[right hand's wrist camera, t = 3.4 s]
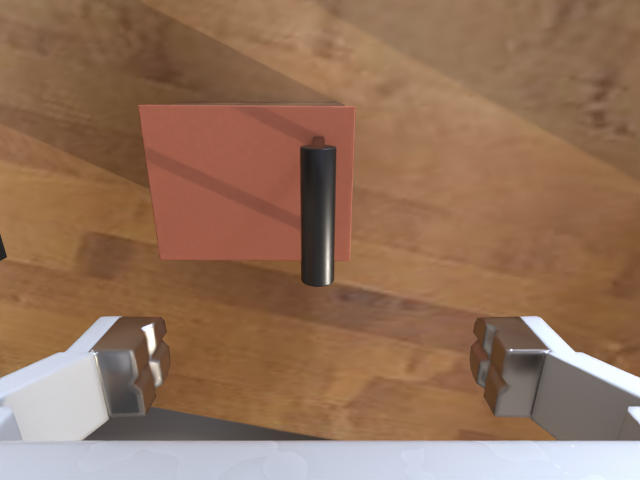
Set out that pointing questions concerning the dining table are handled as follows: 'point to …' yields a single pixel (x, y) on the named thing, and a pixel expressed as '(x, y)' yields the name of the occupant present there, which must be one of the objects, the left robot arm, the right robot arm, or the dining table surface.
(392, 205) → the dining table surface
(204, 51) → the dining table surface
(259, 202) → the lid
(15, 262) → the dining table surface
